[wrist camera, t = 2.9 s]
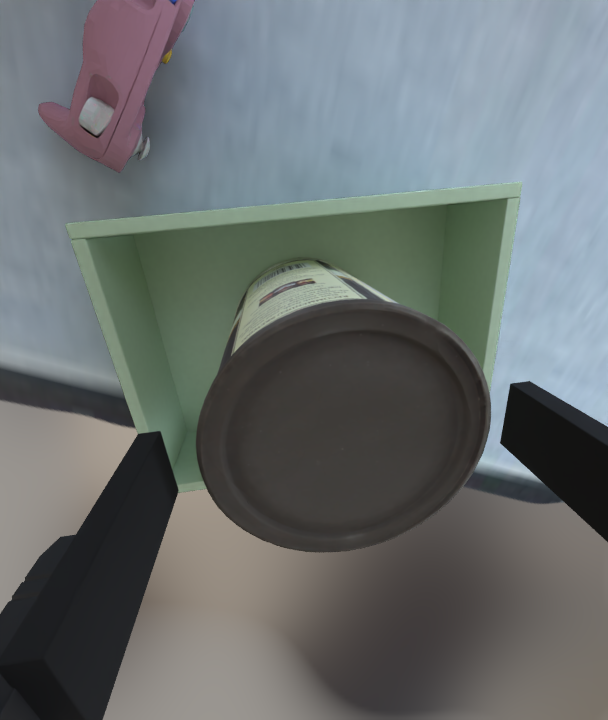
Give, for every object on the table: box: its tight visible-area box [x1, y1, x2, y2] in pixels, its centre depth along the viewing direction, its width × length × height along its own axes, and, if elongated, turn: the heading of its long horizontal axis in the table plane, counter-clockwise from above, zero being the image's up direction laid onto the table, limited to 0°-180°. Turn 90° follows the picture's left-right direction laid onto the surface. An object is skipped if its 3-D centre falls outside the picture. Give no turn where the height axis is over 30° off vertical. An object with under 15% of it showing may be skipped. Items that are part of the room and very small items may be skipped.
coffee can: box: [196, 257, 491, 552], centre depth 18 cm, size 10×10×14 cm
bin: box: [65, 182, 522, 493], centre depth 22 cm, size 16×22×6 cm
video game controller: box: [38, 0, 195, 173], centre depth 16 cm, size 10×5×7 cm, turn 147°
